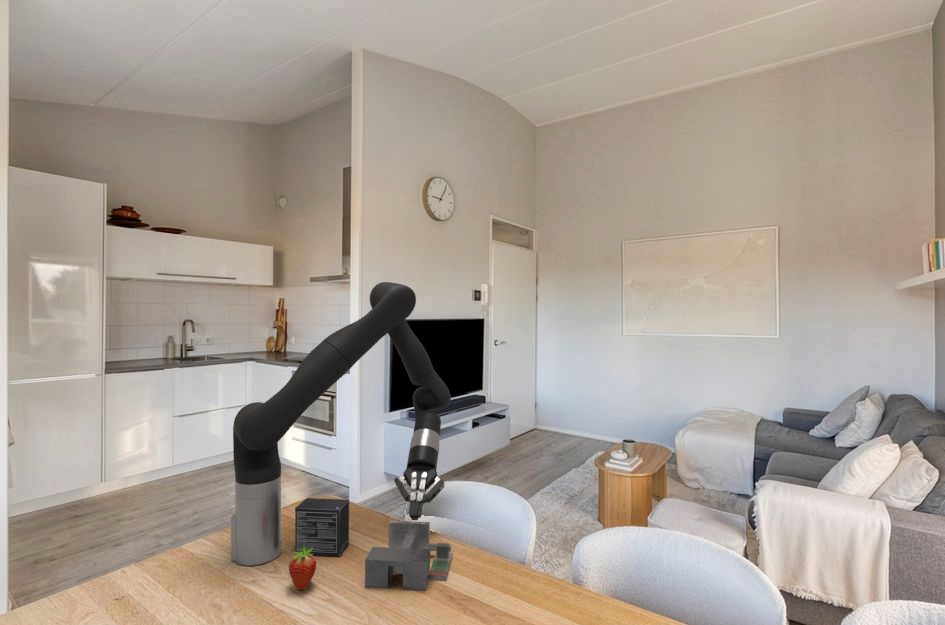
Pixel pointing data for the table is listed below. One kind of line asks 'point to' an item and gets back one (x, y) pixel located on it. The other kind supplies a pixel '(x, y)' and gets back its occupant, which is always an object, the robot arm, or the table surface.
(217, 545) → the table surface
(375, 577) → the gauge base
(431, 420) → the robot arm
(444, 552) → the block
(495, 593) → the table surface
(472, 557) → the table surface
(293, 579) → the fruit
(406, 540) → the push plate
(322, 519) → the small box
